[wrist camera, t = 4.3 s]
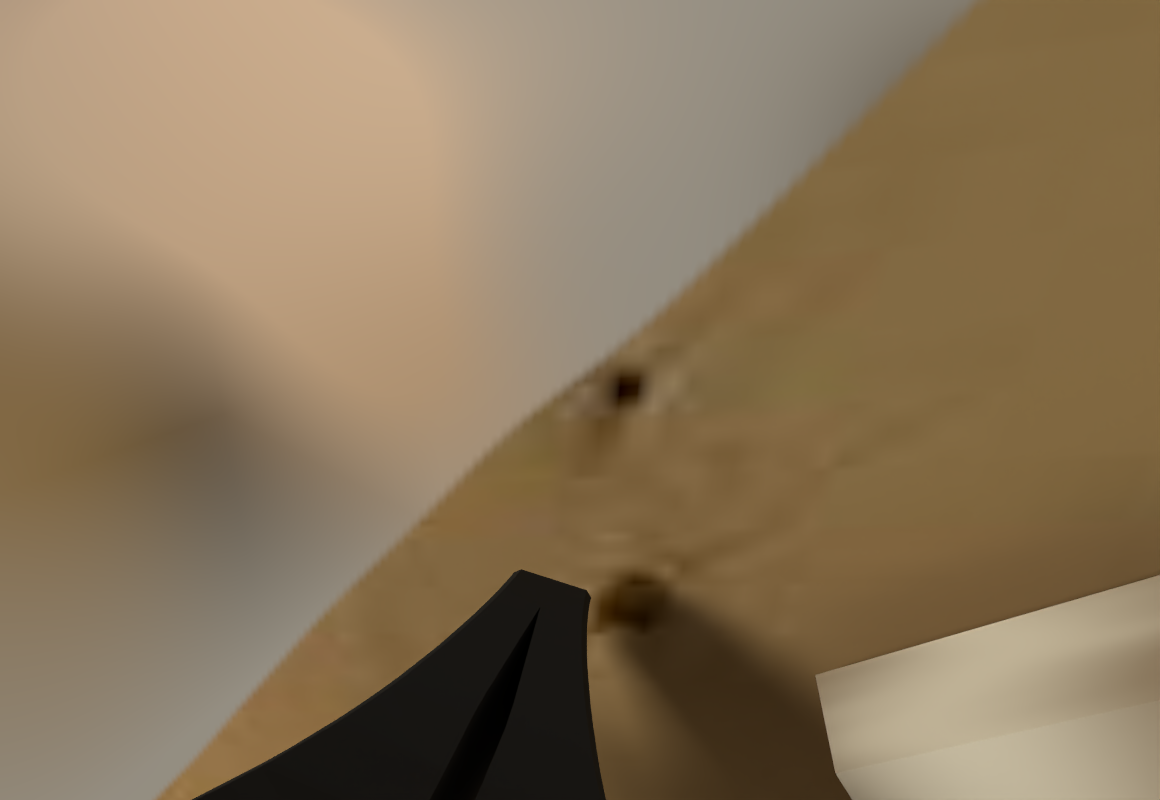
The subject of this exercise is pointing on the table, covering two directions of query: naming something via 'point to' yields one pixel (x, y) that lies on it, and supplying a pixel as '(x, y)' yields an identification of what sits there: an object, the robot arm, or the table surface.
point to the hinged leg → (1009, 708)
